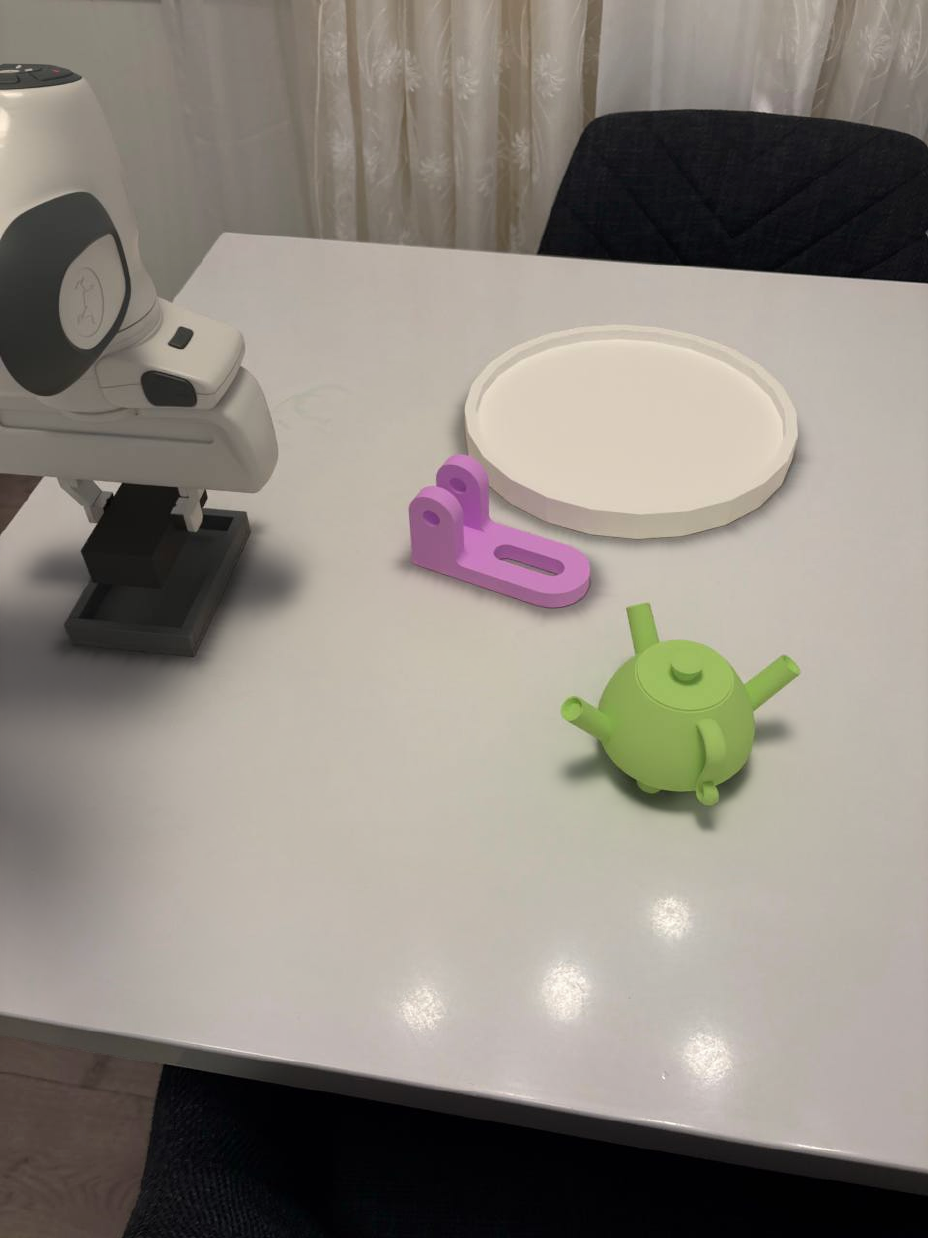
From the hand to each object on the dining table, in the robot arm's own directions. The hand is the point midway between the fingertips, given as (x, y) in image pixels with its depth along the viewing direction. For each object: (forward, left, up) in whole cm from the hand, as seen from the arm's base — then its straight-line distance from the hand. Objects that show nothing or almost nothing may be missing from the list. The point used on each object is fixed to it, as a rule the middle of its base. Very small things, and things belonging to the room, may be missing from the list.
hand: (147, 522), depth 74 cm
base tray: (0, 0, -6) cm, 6 cm away
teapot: (+10, -37, -6) cm, 39 cm away
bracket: (+17, -19, -6) cm, 26 cm away
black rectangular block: (0, 0, -2) cm, 2 cm away
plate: (+37, -17, -6) cm, 41 cm away
